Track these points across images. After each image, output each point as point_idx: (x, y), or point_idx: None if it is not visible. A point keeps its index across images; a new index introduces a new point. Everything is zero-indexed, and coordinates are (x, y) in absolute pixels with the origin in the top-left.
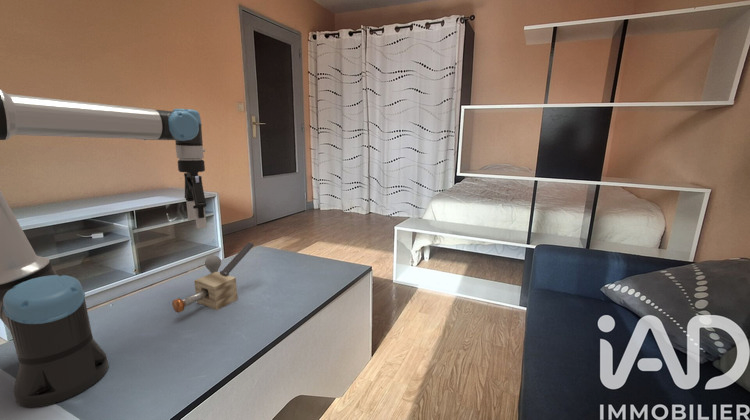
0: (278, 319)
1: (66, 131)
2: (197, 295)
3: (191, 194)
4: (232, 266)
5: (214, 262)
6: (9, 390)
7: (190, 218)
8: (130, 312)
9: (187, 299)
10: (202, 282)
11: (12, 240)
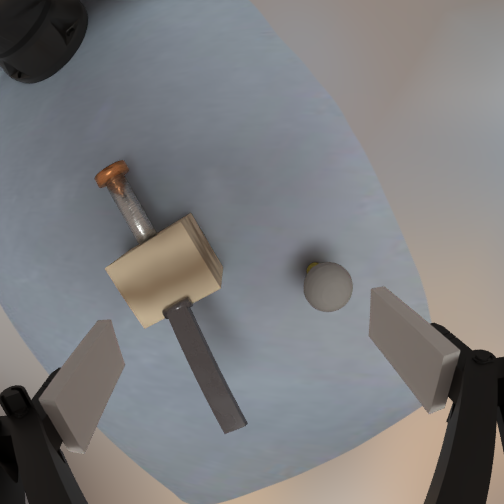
0: (52, 343)
1: None
2: (127, 221)
3: (446, 447)
4: (178, 339)
5: (307, 293)
6: None
7: (374, 304)
8: (226, 71)
9: (114, 196)
10: (152, 242)
11: None
